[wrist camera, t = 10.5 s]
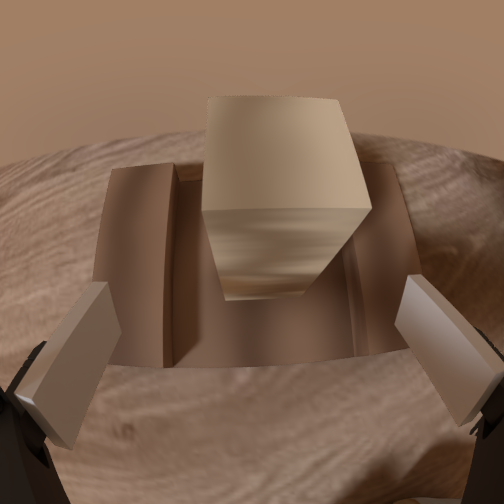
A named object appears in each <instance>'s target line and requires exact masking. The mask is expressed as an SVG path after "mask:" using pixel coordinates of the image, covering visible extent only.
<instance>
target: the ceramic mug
mask: <svg viewBox="0 0 504 504" xmlns="http://www.w3.org/2000/svg"><path fill="white" fill-rule="evenodd" d="M461 501H462V499H451V498H428V497H416V498H407V499H402V500H399V501H396V502H394V503H392V504H461Z"/></svg>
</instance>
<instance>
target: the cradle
mask: <svg viewBox="0 0 504 504" xmlns="http://www.w3.org/2000/svg"><path fill="white" fill-rule="evenodd" d="M359 163H360V167H361V170H362V173H363V177H364V180H365V184H366V187H367V191H368V195H369V198H370V202H371V206H372V209H371V210H370V212H369V213H368V214H367V216H366V217H365V218H364V220H363V221H362V222H361V223H360V225H359V226H358V227H357V229H356V230H355V231H354V233H353V234H352V235H351V236H350V238H349V239H348V240H347V241H346V243H345V244H344V245H343V246H342V248H341V249H340V250H339V251H338V253H337V254H336V255H335V256H334V258H333V259H332V260H331V261H330V263H329V264H328V265H327V266H326V267H325V269H324V270H323V271H322V272H321V273H320V275H319V276H318V277H317V278H316V279H315V281H314V282H313V283H312V284H311V285H310V287H309V288H308V289H307V290H306V291H305V292H304V294H303V295H302V296H301V297H295V298H277V299H255V300H227V301H225V297H224V294H223V290H222V286H221V283H220V279H219V276H218V272H217V268H216V264H215V261H214V257H213V253H212V249H211V246H210V242H209V238H208V234H207V230H206V226H205V222H204V218H203V214H202V187H203V180H202V181H185V182H179V178H178V175H177V172H176V169H175V165H174V163H164V164H154V165H144V166H135V167H126V168H118V169H112V172H111V176H110V180H109V184H108V189H107V193H106V198H105V202H104V207H103V212H102V218H101V223H100V229H99V235H98V241H97V248H96V254H95V262H94V270H93V279H92V282H108V285H109V289H110V293H111V297H112V301H113V304H114V308H115V312H116V315H117V319H118V322H119V326H120V329H121V332H122V333H121V336H120V338H119V340H118V342H117V344H116V346H115V348H114V350H113V352H112V355H111V357H110V359H109V361H108V363H107V364H111V365H122V366H135V367H151V368H173V367H174V368H233V367H258V366H274V365H287V364H299V363H309V362H318V361H327V360H335V359H343V358H350V357H358V356H368V355H375V354H380V353H386V352H391V351H396V350H401V349H406V348H410V347H409V346H408V344H407V343H406V341H405V340H404V338H403V337H402V335H401V334H400V332H399V331H398V329H397V328H396V326H395V325H394V324H395V321H396V317H397V314H398V311H399V307H400V304H401V300H402V296H403V293H404V289H405V285H406V281H407V277H408V275H418V274H421V275H422V276H423V273H422V268H421V263H420V259H419V254H418V250H417V246H416V242H415V238H414V234H413V230H412V226H411V222H410V219H409V215H408V212H407V208H406V205H405V202H404V199H403V195H402V192H401V189H400V186H399V183H398V180H397V177H396V174H395V171H394V169H393V166H392V164H384V163H372V162H359Z"/></svg>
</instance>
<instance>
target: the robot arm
mask: <svg viewBox="0 0 504 504" xmlns="http://www.w3.org/2000/svg"><path fill="white" fill-rule="evenodd" d="M394 325H395V326H396V328H397V329H398V331H399V332H400V334H401V335H402V337H403V338H404V340H405V341H406V343H407V344H408V346H409V347H410V349H411V350H412V352H413V353H414V355H415V356H416V358H417V359H418V361H419V362H420V364H421V365H422V367H423V369H424V370H425V372H426V373H427V375H428V377H429V378H430V380H431V381H432V383H433V385H434V386H435V388H436V390H437V391H438V393H439V395H440V396H441V398H442V400H443V401H444V403H445V405H446V406H447V408H448V410H449V412H450V413H451V415H452V417H453V419H454V420H455V422H456V424H457V426H458V427H460V426H462V425H464V424H466V423H469V422H471V421H472V420H473V419H474V418H475V417H476V415H477V414H478V413H479V411H481V412H482V414H483V416H482V417H481V419H480V420H479V421H478V422H477V423H476V425H475V426H474V427H473V428H472V429H471V431H470V435H472V434H473V433H474V431H475V430H476V429H477V428H478V432H477V433H476V434H475V436H477V439H476V444H475V450H474V455H473V460H472V464H471V468H470V472H469V476H468V480H467V484H466V487H465V491H464V494H463V498H462V501H461V504H504V356H503V355H502V354H501V353H500V352H499V351H498V349H497V348H496V347H494V345H493V344H492V343H491V341H489V339H488V338H487V337H486V336H485V335H484V334H483V333H482V331H480V330H479V329H477V328H475V327H474V326H472V325H471V324H470V323H469V322H468V321H467V320H466V319H465V318H464V317H463V316H462V315H461V314H460V313H459V312H458V311H457V309H456V308H455V307H454V306H453V305H452V304H451V303H450V302H449V301H448V300H447V299H446V298H445V297H444V296H443V295H442V294H441V293H440V292H439V291H438V290H437V289H436V288H435V287H434V286H433V285H432V284H430V283H429V282H428V281H427V280H426V279H425V278H424V277H423V276H422V275H421V274H418V275H408V277H407V281H406V285H405V289H404V293H403V296H402V300H401V304H400V307H399V311H398V314H397V317H396V321H395V324H394ZM121 333H122V332H121V329H120V326H119V322H118V319H117V315H116V312H115V308H114V304H113V301H112V297H111V293H110V289H109V285H108V282H92V283H91V285H90V286H89V287H88V288H87V289H86V291H85V292H84V293H83V294H82V296H81V297H80V298H79V300H78V301H77V302H76V303H75V305H74V306H73V307H72V309H71V310H70V311H69V312H68V314H67V315H66V316H65V318H64V319H63V320H62V322H61V323H60V325H59V326H58V327H57V329H56V330H55V331H54V333H53V334H52V336H51V337H50V338H49V340H48V341H43V342H42V343H40V344H39V345H38V346H37V347H35V348H34V349H33V351H32V352H31V354H30V355H29V356H28V360H26V361H25V362H24V364H23V367H21V368H20V370H19V371H18V373H17V374H16V376H15V377H14V379H13V380H12V382H11V384H10V385H9V387H8V388H7V390H6V392H5V393H4V391H3V390H2V388H1V387H0V504H71V503H70V501H69V499H68V497H67V495H66V493H65V491H64V488H63V486H62V484H61V481H60V479H59V477H58V474H57V472H56V469H55V467H54V464H53V461H52V459H51V456H50V453H49V450H48V448H47V446H46V444H45V443H44V441H45V438H46V436H47V437H48V438H49V439H50V440H51V442H52V443H53V444H54V445H56V446H59V447H62V448H65V449H68V450H72V449H73V446H74V444H75V441H76V438H77V436H78V433H79V430H80V428H81V425H82V422H83V420H84V417H85V415H86V412H87V410H88V407H89V405H90V402H91V400H92V398H93V395H94V393H95V391H96V388H97V386H98V384H99V381H100V379H101V377H102V374H103V372H104V370H105V368H106V365H107V363H108V361H109V359H110V357H111V355H112V352H113V350H114V348H115V346H116V344H117V342H118V340H119V338H120V336H121Z"/></svg>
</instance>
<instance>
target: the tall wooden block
mask: <svg viewBox="0 0 504 504" xmlns="http://www.w3.org/2000/svg"><path fill="white" fill-rule="evenodd" d="M371 209H372V206H371V202H370V198H369V195H368V191H367V187H366V184H365V180H364V177H363V173H362V170H361V167H360V163H359V160H358V157H357V154H356V150H355V147H354V144H353V141H352V138H351V135H350V132H349V130H348V127H347V124H346V121H345V119H344V116H343V113H342V110H341V108H340V105H339V103H338V100H331V99H321V98H308V97H289V96H224V97H209V98H208V109H207V122H206V135H205V150H204V167H203V187H202V214H203V218H204V222H205V226H206V230H207V234H208V238H209V242H210V246H211V249H212V253H213V257H214V261H215V264H216V268H217V272H218V276H219V279H220V283H221V286H222V290H223V294H224V297H225V301H227V300H255V299H277V298H295V297H301V296H302V295H303V294H304V292H305V291H306V290H307V289H308V288H309V287H310V285H311V284H312V283H313V282H314V281H315V279H316V278H317V277H318V276H319V275H320V273H321V272H322V271H323V270H324V269H325V267H326V266H327V265H328V264H329V263H330V261H331V260H332V259H333V258H334V256H335V255H336V254H337V253H338V251H339V250H340V249H341V248H342V246H343V245H344V244H345V243H346V241H347V240H348V239H349V238H350V236H351V235H352V234H353V233H354V231H355V230H356V229H357V227H358V226H359V225H360V223H361V222H362V221H363V220H364V218H365V217H366V216H367V214H368V213H369V212H370V210H371Z"/></svg>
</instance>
